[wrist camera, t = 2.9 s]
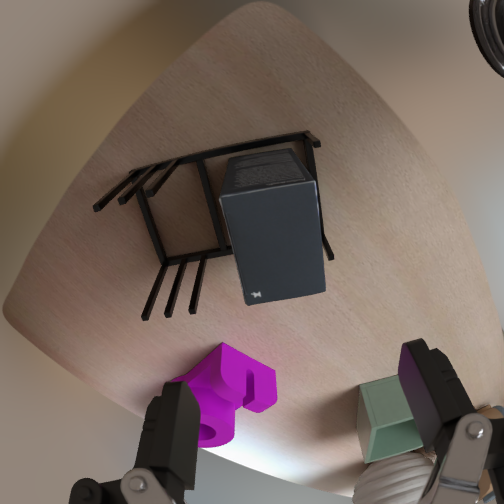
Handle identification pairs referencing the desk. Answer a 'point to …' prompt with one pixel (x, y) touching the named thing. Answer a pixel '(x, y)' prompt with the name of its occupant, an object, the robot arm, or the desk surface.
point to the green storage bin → (385, 420)
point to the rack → (224, 250)
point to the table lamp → (394, 480)
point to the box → (273, 226)
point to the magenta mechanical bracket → (228, 391)
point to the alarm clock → (485, 481)
